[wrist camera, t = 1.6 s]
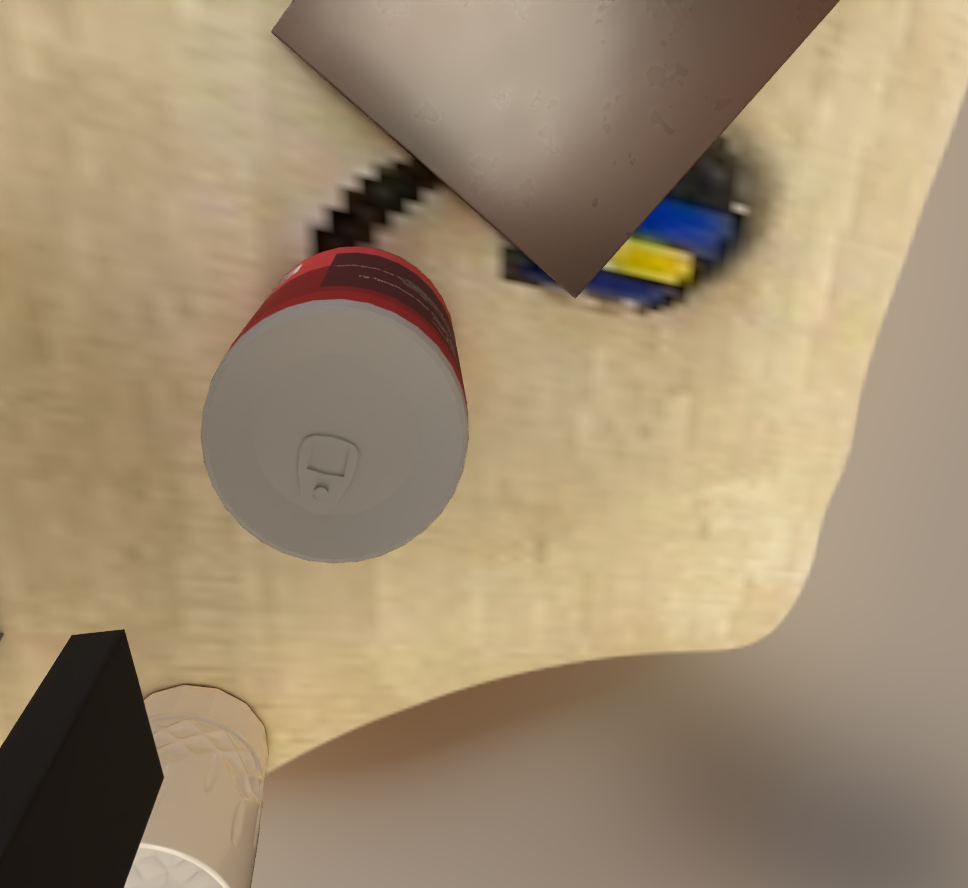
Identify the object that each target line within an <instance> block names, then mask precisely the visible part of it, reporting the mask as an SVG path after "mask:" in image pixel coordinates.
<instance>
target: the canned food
mask: <svg viewBox="0 0 968 888" xmlns="http://www.w3.org/2000/svg"><path fill="white" fill-rule="evenodd" d="M468 440H469V436H468V411H467V401H466V395H465V390H464V385H463V379H462V374H461V368H460V363H459V358H458V352H457V347H456V342H455V336H454V331H453V327H452V322H451V318H450V314H449V312H448V310H447V308H446V305H445V303H444V301H443V298H442V297H441V295H440V294H439V292H438V291H437V289H436V288H435V287H434V285H433V284H432V282H431V281H430V280H429V279H428V278H427V277H426V276H425V275H424V274H423V273H422V272H421V271H420V270H419V269H417V268H416V267H415V266H413V265H412V264H410V263H409V262H407V261H405V260H404V259H402V258H401V257H399V256H396V255H394V254H391V253H388V252H386V251H383V250H380V249H374V248H368V247H362V246H357V247H340V248H336V249H332V250H328V251H324V252H321V253H319V254H317V255H315V256H313V257H311V258H309V259H306V260H304V261H303V262H301V263H300V264H299V265H298V266H296V267H295V268H294V269H292V270H291V271H290V272H289V273H287V274H286V276H285V277H284V278H283V279H282V280H281V282H280V283H279V284H278V285H277V286H276V288H275V289H274V290H273V291H272V293H271V294H270V295H269V297H268V298H267V299H266V301H265V302H264V303H263V304H262V306H261V307H260V308H259V310H258V311H257V312H256V314H255V315H254V316H253V318H252V319H251V320H250V322H249V323H248V324H247V325H246V327H245V328H244V329H243V331H242V332H241V333H240V335H239V336H238V337H237V339H236V340H235V341H234V343H233V344H232V345H231V347H230V349H229V351H228V352H227V353H226V355H225V356H224V358H223V360H222V362H221V363H220V365H219V367H218V369H217V371H216V373H215V375H214V377H213V378H212V381H211V385H210V388H209V391H208V395H207V398H206V402H205V405H204V408H203V414H202V428H201V442H202V449H203V457H204V463H205V466H206V469H207V471H208V474H209V477H210V480H211V483H212V486H213V488H214V489H215V491H216V493H217V494H218V496H219V498H220V500H221V501H222V503H223V505H224V506H225V508H226V509H227V510H228V511H229V512H230V514H231V515H232V516H233V517H234V518H235V519H236V520H237V521H238V523H239V524H240V525H241V526H242V527H243V528H244V529H246V530H247V531H248V532H250V533H251V534H252V535H254V536H255V537H256V538H257V539H259V540H260V541H261V542H263V543H265V544H267V545H269V546H271V547H273V548H275V549H277V550H278V551H280V552H282V553H285V554H288V555H291V556H294V557H298V558H301V559H304V560H308V561H316V562H325V563H346V562H358V561H362V560H366V559H370V558H374V557H378V556H382V555H384V554H386V553H388V552H390V551H393V550H395V549H397V548H399V547H401V546H404V545H405V544H406V543H408V542H409V541H411V540H412V539H413V538H415V537H416V536H418V535H419V534H421V533H422V532H423V531H424V530H425V529H426V528H427V527H428V526H429V525H430V524H431V523H432V522H433V521H434V520H435V519H436V518H437V517H438V516H439V515H440V514H441V512H442V511H443V509H444V508H445V506H446V505H447V503H448V502H449V500H450V499H451V497H452V495H453V494H454V492H455V489H456V487H457V484H458V482H459V479H460V477H461V474H462V472H463V468H464V462H465V457H466V452H467V445H468Z"/></svg>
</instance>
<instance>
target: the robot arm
mask: <svg viewBox="0 0 968 888" xmlns="http://www.w3.org/2000/svg"><path fill="white" fill-rule="evenodd" d="M163 779H164V775H163V771H162V767H161V763H160V760H159V756H158V752H157V749H156V745H155V741H154V737H153V734H152V730H151V726H150V723H149V719H148V715H147V711H146V708H145V704H144V700H143V697H142V693H141V689H140V685H139V682H138V678H137V674H136V671H135V667H134V663H133V659H132V656H131V652H130V648H129V644H128V641H127V637H126V633H125V630H124V629H123V630H114V631H105V632H96V633H87V634H78V635H72V636H71V637H70V639H69V640H68V642H67V644H66V645H65V647H64V648H63V650H62V652H61V653H60V655H59V656H58V658H57V659H56V661H55V663H54V664H53V666H52V667H51V669H50V670H49V672H48V674H47V675H46V677H45V678H44V680H43V681H42V683H41V685H40V686H39V688H38V689H37V691H36V692H35V694H34V696H33V697H32V699H31V700H30V702H29V703H28V705H27V707H26V708H25V710H24V711H23V713H22V714H21V716H20V718H19V719H18V721H17V722H16V724H15V726H14V727H13V729H12V730H11V732H10V733H9V735H8V737H7V738H6V740H5V741H4V743H3V744H2V746H1V748H0V888H124V886H125V883H126V880H127V878H128V875H129V872H130V870H131V867H132V864H133V861H134V859H135V856H136V853H137V850H138V848H139V845H140V842H141V840H142V837H143V834H144V831H145V829H146V826H147V823H148V820H149V818H150V815H151V812H152V809H153V807H154V804H155V801H156V799H157V796H158V793H159V790H160V788H161V785H162V782H163Z"/></svg>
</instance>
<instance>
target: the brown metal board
mask: <svg viewBox="0 0 968 888" xmlns="http://www.w3.org/2000/svg"><path fill="white" fill-rule="evenodd" d="M839 1H840V0H293V1H292V3H291V4H290V6H289V7H288V8H287V10H286V11H285V12H284V14H283V15H282V17H281V18H280V19H279V21H278V22H277V24H276V25H275V26H274V28H273V29H272V33H273V34H274V35H275V36H276V37H277V38H278V39H280V40H281V41H282V42H283V43H284V44H285V45H286V46H288V47H289V48H290V49H291V50H292V51H293V52H294V53H296V54H297V55H298V56H299V57H300V58H301V59H302V60H304V61H305V62H306V63H307V64H308V65H309V66H310V67H312V68H313V69H314V70H315V71H316V72H317V73H318V74H320V75H321V76H322V77H323V78H324V79H325V80H326V81H328V82H329V83H330V84H331V85H332V86H333V87H334V88H336V89H337V90H338V91H339V92H340V93H341V94H342V95H344V96H345V97H346V98H347V99H348V100H349V101H350V102H352V103H353V104H354V105H355V106H356V107H357V108H358V109H360V110H361V111H362V112H363V113H364V114H365V115H366V116H367V117H369V118H370V119H371V120H372V121H373V122H374V123H375V124H377V125H378V126H379V127H380V128H381V129H382V130H383V131H385V132H386V133H387V134H388V135H389V136H390V137H391V138H393V139H394V140H395V141H396V142H397V143H398V144H399V145H401V146H402V147H403V148H404V149H405V150H406V151H407V152H409V153H410V154H411V155H412V156H413V157H414V158H415V159H417V160H418V161H419V162H420V163H421V164H422V165H423V166H425V167H426V168H427V169H428V170H429V171H430V172H431V173H433V174H434V175H435V176H436V177H437V178H438V179H439V180H441V181H442V182H443V183H444V184H445V185H446V186H447V187H449V188H450V189H451V190H452V191H453V192H454V193H455V194H457V195H458V196H459V197H460V198H461V199H462V200H463V201H465V202H466V203H467V204H468V205H469V206H470V207H471V208H473V209H474V210H475V211H476V212H477V213H478V214H479V215H481V216H482V217H483V218H484V219H485V220H486V221H487V222H489V223H490V224H491V225H492V226H493V227H494V228H495V229H497V230H498V231H499V232H500V233H501V234H502V235H503V236H505V237H506V238H507V239H508V240H509V241H510V242H511V243H513V244H514V245H515V246H516V247H517V248H518V249H519V250H521V251H522V252H523V253H524V254H525V255H526V256H527V257H529V258H530V259H531V260H532V261H533V262H534V263H535V264H536V265H538V266H539V267H540V268H541V269H542V270H543V271H544V272H546V273H547V274H548V275H549V276H550V277H551V278H552V279H554V280H555V281H556V282H557V283H558V284H559V285H560V286H562V287H563V288H564V289H565V290H566V291H567V292H568V293H570V294H571V295H572V296H573V297H574V298H576V297H577V296H578V295H579V294H580V293H581V292H582V291H583V289H584V288H585V287H586V286H587V285H588V284H589V283H590V282H591V280H592V279H593V278H594V277H595V276H596V275H597V274H598V273H599V271H600V270H601V269H602V268H603V267H604V266H605V265H606V264H607V262H608V261H609V260H610V259H611V258H612V257H613V256H614V255H615V253H616V252H617V251H618V250H619V249H620V248H621V247H622V245H623V244H624V243H625V242H626V241H627V240H628V239H629V238H630V236H631V235H632V234H633V233H634V232H635V231H636V230H637V229H638V227H639V226H640V225H641V224H642V223H643V222H644V221H645V220H646V218H647V217H648V216H649V215H650V214H651V213H652V212H653V211H654V209H655V208H656V207H657V206H658V205H659V204H660V203H661V202H662V200H663V199H664V198H665V197H666V196H667V195H668V194H669V192H670V191H671V190H672V189H673V188H674V187H675V186H676V185H677V183H678V182H679V181H680V180H681V179H682V178H683V177H684V176H685V174H686V173H687V172H688V171H689V170H690V169H691V168H692V167H693V165H694V164H695V163H696V162H697V161H698V160H699V159H700V158H701V156H702V155H703V154H704V153H705V152H706V151H707V150H708V148H709V147H710V146H711V145H712V144H713V143H714V142H715V141H716V139H717V138H718V137H719V136H720V135H721V134H722V133H723V132H724V130H725V129H726V128H727V127H728V126H729V125H730V124H731V123H732V121H733V120H734V119H735V118H736V117H737V116H738V115H739V114H740V112H741V111H742V110H743V109H744V108H745V107H746V106H747V105H748V103H749V102H750V101H751V100H752V99H753V98H754V97H755V95H756V94H757V93H758V92H759V91H760V90H761V89H762V88H763V86H764V85H765V84H766V83H767V82H768V81H769V80H770V79H771V77H772V76H773V75H774V74H775V73H776V72H777V71H778V70H779V68H780V67H781V66H782V65H783V64H784V63H785V62H786V61H787V59H788V58H789V57H790V56H791V55H792V54H793V53H794V51H795V50H796V49H797V48H798V47H799V46H800V45H801V44H802V42H803V41H804V40H805V39H806V38H807V37H808V36H809V35H810V33H811V32H812V31H813V30H814V29H815V28H816V27H817V26H818V24H819V23H820V22H821V21H822V20H823V19H824V18H825V17H826V15H827V14H828V13H829V12H830V11H831V10H832V9H833V8H834V6H835V5H836V4H837V3H838V2H839Z"/></svg>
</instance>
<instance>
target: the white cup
mask: <svg viewBox="0 0 968 888" xmlns="http://www.w3.org/2000/svg"><path fill="white" fill-rule="evenodd" d="M144 704H145V708H146V711H147V715H148V719H149V723H150V726H151V730H152V734H153V737H154V741H155V745H156V749H157V752H158V756H159V760H160V763H161V767H162V771H163V775H164V779H163V782H162V785H161V788H160V790H159V793H158V796H157V799H156V801H155V804H154V807H153V809H152V812H151V815H150V818H149V820H148V823H147V826H146V829H145V831H144V834H143V837H142V840H141V842H140V845H139V848H138V850H137V853H136V856H135V859H134V861H133V864H132V867H131V870H130V872H129V875H128V878H127V880H126V883H125V886H124V888H251V882H252V876H253V869H254V863H255V857H256V850H257V844H258V837H259V829H260V818H261V812H262V807H263V792H264V778H265V772H266V766H267V760H268V747H267V741H266V734H265V728H264V726H263V724H262V723H261V722H260V720H259V719H258V718H257V717H256V715H255V714H254V713H253V712H252V710H251V709H250V708H249V706H248V705H247V704H246V703H244V702H242V701H240V700H239V699H237V698H235V697H233V696H231V695H229V694H227V693H225V692H223V691H221V690H219V689H217V688H208V687H199V686H190V685H182V686H178V687H174V688H171V689H167V690H163V691H160V692H156V693H153V694H151V695H150V696H149V697H147V698H146V699H145V700H144Z"/></svg>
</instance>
